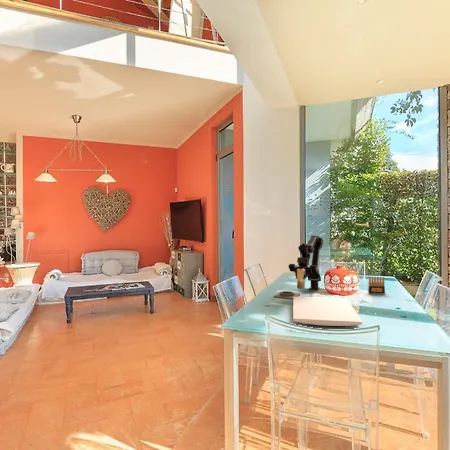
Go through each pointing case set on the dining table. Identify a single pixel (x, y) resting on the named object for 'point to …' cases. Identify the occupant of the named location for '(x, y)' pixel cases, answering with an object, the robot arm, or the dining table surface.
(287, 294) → the collar plate
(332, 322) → the board
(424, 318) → the dining table surface
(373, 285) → the ammunition clip
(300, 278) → the brass roller
